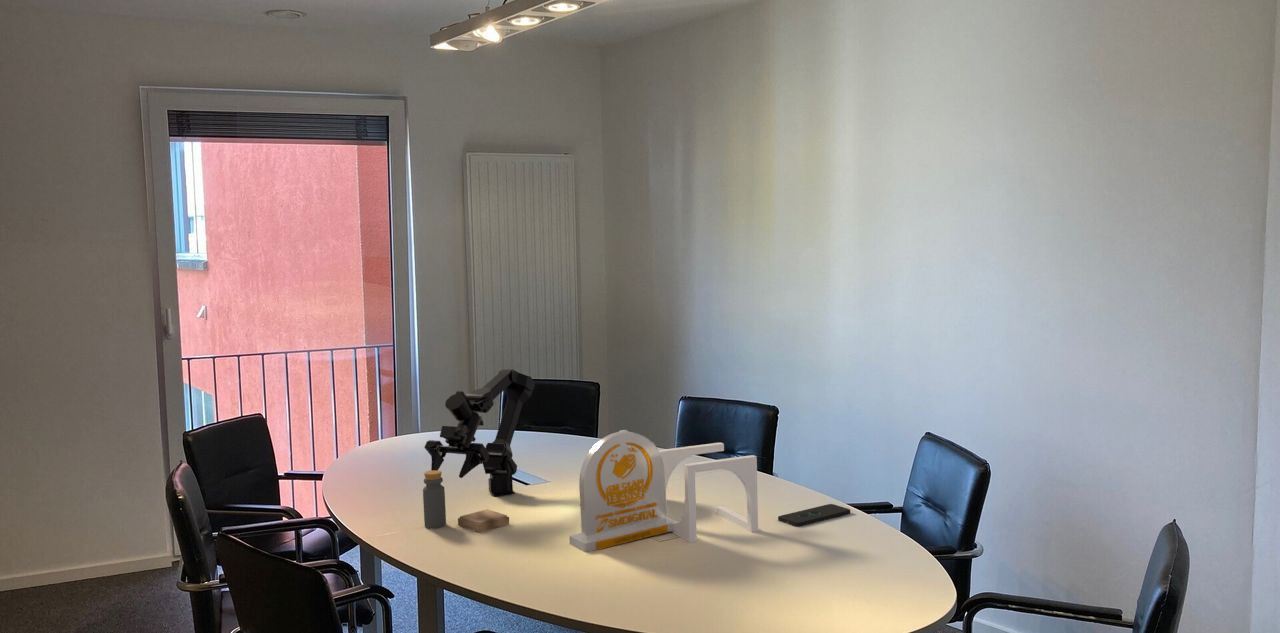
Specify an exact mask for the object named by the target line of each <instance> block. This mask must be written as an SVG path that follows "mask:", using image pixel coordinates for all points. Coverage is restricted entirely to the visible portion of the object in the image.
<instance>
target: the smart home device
mask: <svg viewBox="0 0 1280 633" xmlns="http://www.w3.org/2000/svg"><path fill="white" fill-rule="evenodd" d="M850 514H851V509H850V508H847V507H843V506H841V505H837V504H834V503H828V504H823V505H820V506H816V507H812V508H807V509H803V510H799V511H794V512H790V513H785V514H783V515H778V516H777V521H778V522H781V523H784V524H787V525H789V526H792V527H795V528H800V527H803V526H804V527H805V526H809V525H812V524H815V523H819V522H820V523H821V522H824V521H829V520H832V519H837V518H840V517H844V516H849V515H850Z"/></svg>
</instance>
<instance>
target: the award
mask: <svg viewBox="0 0 1280 633" xmlns="http://www.w3.org/2000/svg"><path fill="white" fill-rule="evenodd" d="M627 431H628V430H627ZM627 431H622V432H619V431H617V432H612V433H610V434H608V435H606V436H604V437H602V438H601V439H600V440H598V441H597V442H596V443H595V444H594V445H593V446H592V448H591V449H590V450H589V452H588V453H587V455H586V456H585V458H584V460H583V462H582V466H581V468H580V473H579V481H578V486H579V488H578V489H579V506H580V508H579V510H580V523H581V524H580V525H581V532H577V533H575V534H574V533H573V534H571V535H570V534H569V535H568V540H569V541H568V542H569V545H571V546H573V547H575V548H577V549H578V550H580V551H582V552H584V553H586V552H591V551H596V550H601V549H605V548H609V547H613V546H618V545H621V544H626V543H630V542H634V541H637V540H642V539H646V538H649V537H653V536H657V535H662V534H666V533H669V532H672V531H674V526H673V524H677V523H678V522H679V521H677V520H675V519H672V518H670V517H669V518H668V516H667V517H666V506H667V493H666V494H665V471H664V464H663V460H662V457H661V454H660V452H659V450H660V449H658V447H657V446H656V444H655V443H654V442H653V441H651V440H650V439H649V438H647V437H646V436H644V435H643V434H639V433H636V432H632V431H629V432H627ZM653 443H654V444H655V445H654V444H653Z"/></svg>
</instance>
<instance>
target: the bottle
mask: <svg viewBox="0 0 1280 633" xmlns="http://www.w3.org/2000/svg"><path fill="white" fill-rule="evenodd" d="M423 474H424V479H423V484H425V486H424V487H423V489H422V500H423V501H422V502H423V518H424V520H423V521H424V528H426V529H431V528H432V529H433V528H434V529H440V528H444V527H446V525H447V515H446V513H447V512H446V492H445V486H444V485H442V484H441V483H443V481H444V480H443V479H444V478H443V476H442V471H441V470H439V469H438V470H432V471H431V470H427V471H424V473H423Z"/></svg>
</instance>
